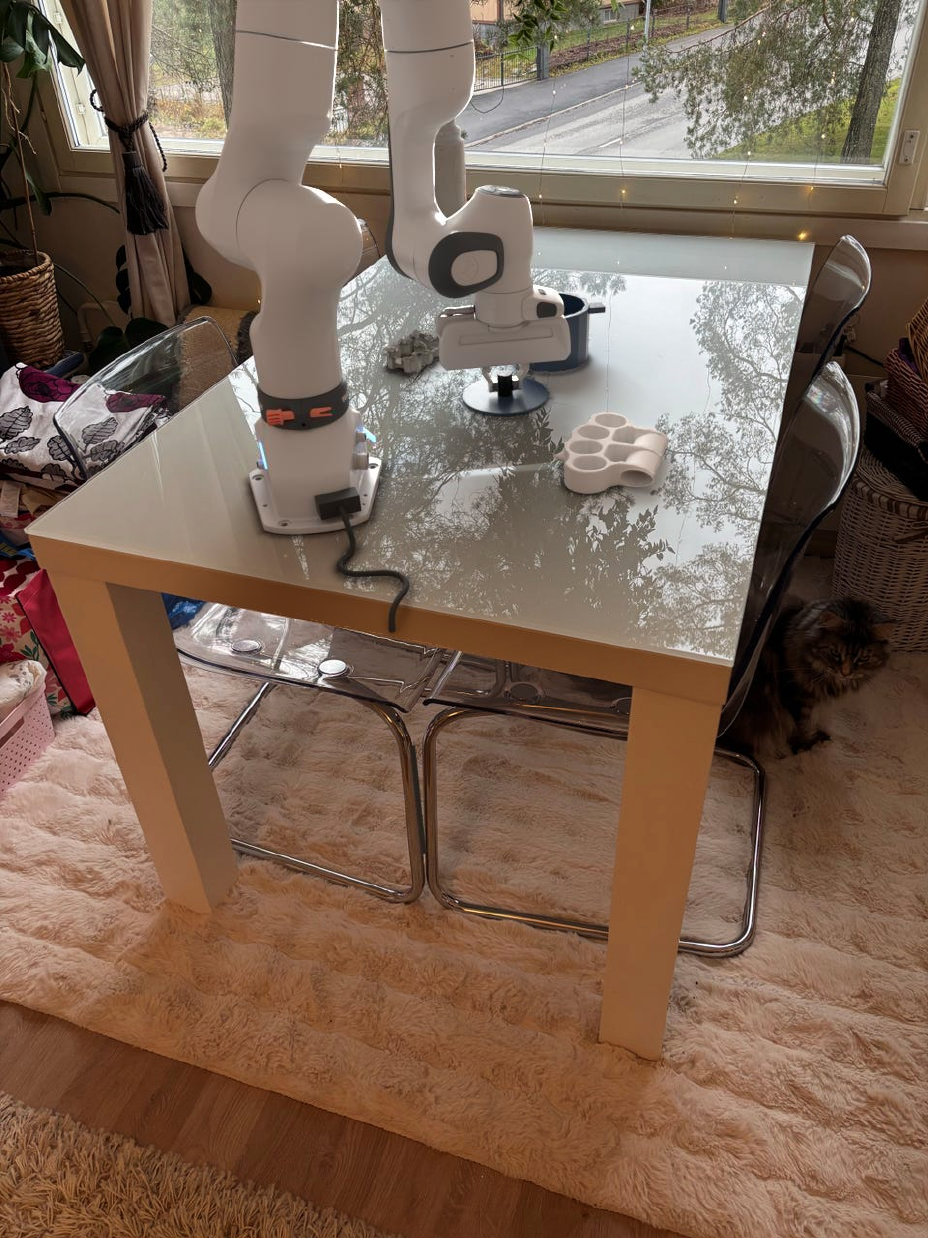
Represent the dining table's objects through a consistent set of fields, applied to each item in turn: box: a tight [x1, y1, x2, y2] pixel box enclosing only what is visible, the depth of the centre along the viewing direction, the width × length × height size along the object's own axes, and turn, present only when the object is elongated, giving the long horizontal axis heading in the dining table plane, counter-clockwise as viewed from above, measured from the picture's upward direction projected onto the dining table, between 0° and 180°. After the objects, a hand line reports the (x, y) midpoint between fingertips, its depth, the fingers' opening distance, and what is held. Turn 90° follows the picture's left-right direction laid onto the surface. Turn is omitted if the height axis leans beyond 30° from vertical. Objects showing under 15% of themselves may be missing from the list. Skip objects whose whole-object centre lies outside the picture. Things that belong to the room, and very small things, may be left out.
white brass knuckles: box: [552, 411, 670, 495], centre depth 130 cm, size 3×18×15 cm
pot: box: [517, 291, 607, 373], centre depth 157 cm, size 13×18×10 cm
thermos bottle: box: [434, 117, 468, 218], centre depth 200 cm, size 8×8×28 cm
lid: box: [461, 369, 549, 417], centre depth 147 cm, size 14×14×5 cm
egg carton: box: [381, 329, 440, 374], centre depth 160 cm, size 11×8×4 cm
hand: (505, 389), depth 147 cm, fingers closed on lid, 2 cm apart
